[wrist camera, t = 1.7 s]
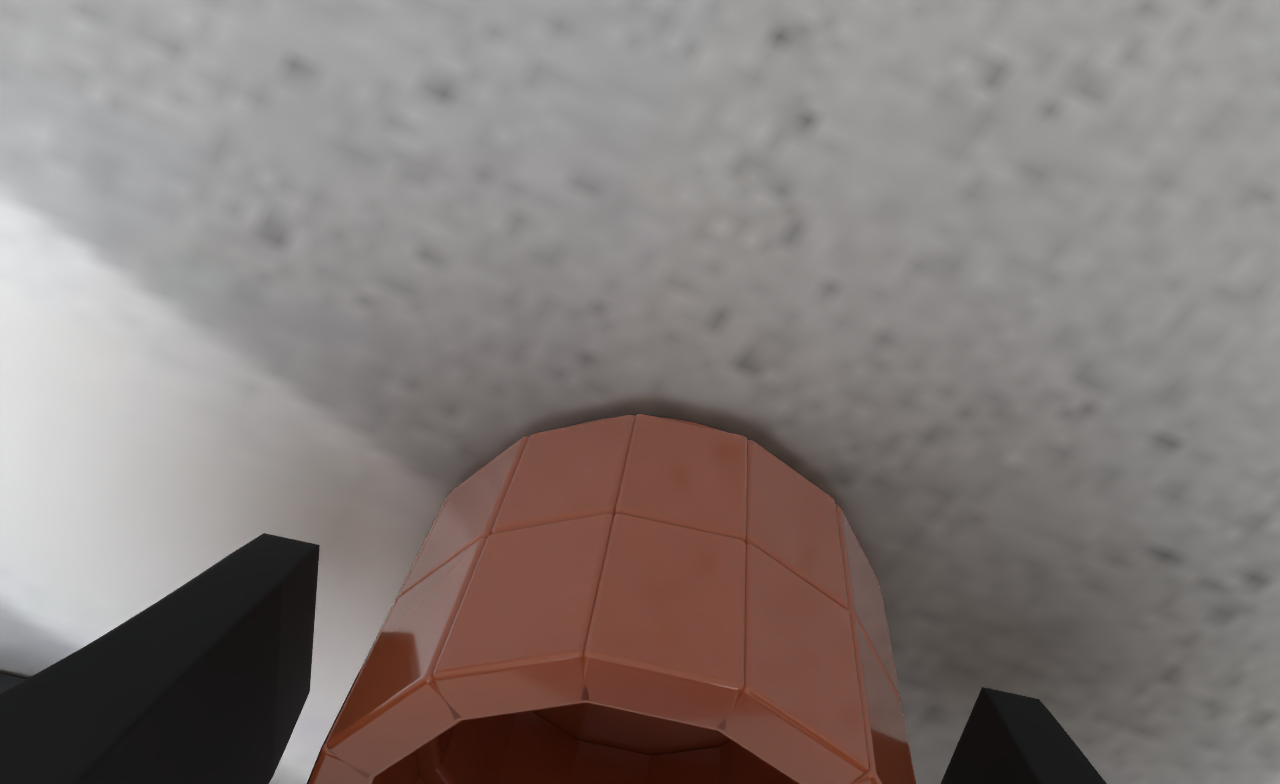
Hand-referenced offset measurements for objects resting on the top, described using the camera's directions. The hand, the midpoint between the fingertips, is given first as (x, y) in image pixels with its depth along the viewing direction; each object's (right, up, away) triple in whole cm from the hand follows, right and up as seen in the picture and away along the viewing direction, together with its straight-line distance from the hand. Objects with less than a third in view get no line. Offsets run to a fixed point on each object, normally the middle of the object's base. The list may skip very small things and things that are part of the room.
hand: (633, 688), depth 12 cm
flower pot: (0, +1, +2) cm, 2 cm away
